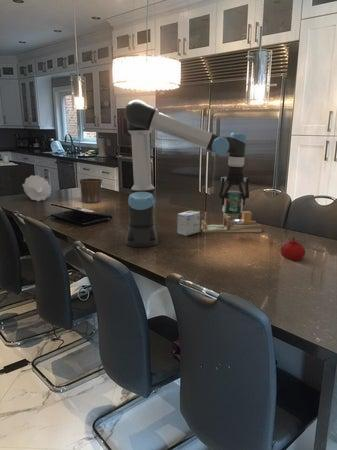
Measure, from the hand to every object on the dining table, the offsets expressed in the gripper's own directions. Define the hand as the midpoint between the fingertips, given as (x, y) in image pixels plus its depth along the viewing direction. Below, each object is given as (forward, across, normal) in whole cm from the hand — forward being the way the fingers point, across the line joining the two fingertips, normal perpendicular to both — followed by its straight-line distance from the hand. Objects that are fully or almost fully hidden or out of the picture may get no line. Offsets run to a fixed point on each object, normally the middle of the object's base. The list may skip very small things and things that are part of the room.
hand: (232, 211), depth 185 cm
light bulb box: (+14, +20, -8) cm, 26 cm away
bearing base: (+13, -4, -12) cm, 18 cm away
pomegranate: (+13, -18, +34) cm, 40 cm away
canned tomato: (+1, 0, 0) cm, 1 cm away
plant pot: (+15, +78, -94) cm, 123 cm away
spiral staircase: (+16, +119, -106) cm, 160 cm away
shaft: (+11, -9, -12) cm, 19 cm away
